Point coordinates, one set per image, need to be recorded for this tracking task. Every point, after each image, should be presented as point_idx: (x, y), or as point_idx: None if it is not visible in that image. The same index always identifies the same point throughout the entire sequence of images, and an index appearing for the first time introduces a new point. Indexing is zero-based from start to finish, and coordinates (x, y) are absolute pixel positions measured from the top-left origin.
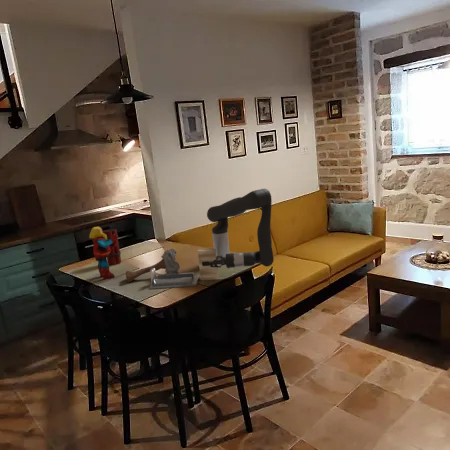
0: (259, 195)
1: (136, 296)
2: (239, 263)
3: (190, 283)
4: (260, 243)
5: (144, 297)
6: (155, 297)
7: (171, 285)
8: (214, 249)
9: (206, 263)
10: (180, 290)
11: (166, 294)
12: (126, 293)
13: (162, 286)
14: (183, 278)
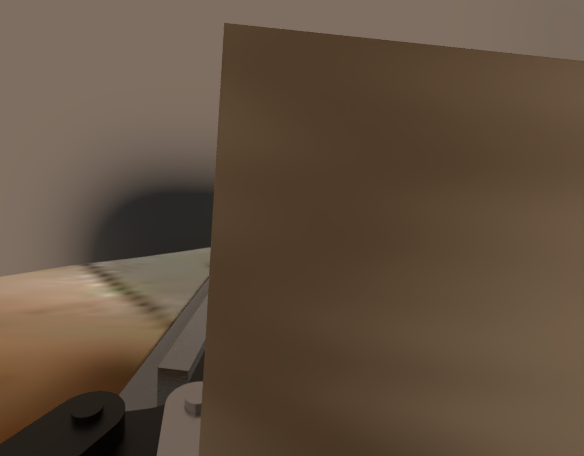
0: None
1: (151, 258)
2: None
3: (141, 400)
4: None
5: (116, 268)
6: (77, 285)
7: (182, 316)
8: (327, 47)
9: (198, 371)
10: (78, 359)
11: (76, 310)
12: (204, 249)
13: (196, 295)
14: (186, 329)
